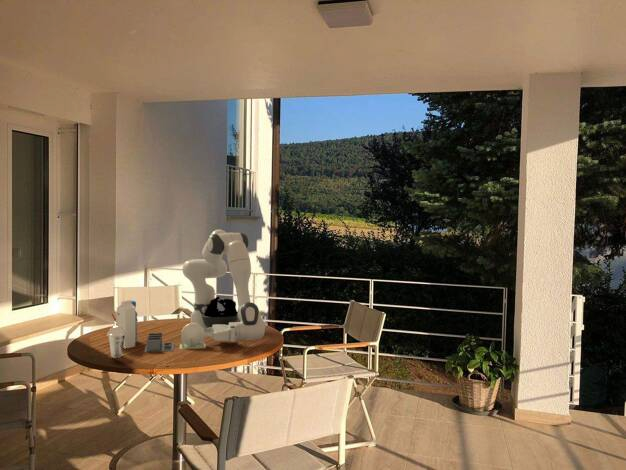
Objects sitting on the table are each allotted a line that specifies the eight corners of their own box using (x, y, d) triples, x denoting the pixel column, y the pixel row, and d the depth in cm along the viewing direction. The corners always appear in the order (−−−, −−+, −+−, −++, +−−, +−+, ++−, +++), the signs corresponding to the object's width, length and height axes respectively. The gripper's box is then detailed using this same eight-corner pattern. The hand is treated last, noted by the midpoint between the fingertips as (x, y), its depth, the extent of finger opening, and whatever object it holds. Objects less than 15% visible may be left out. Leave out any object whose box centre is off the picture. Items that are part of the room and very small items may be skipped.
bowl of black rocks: (235, 337, 276) (236, 301, 275) (197, 336, 276) (198, 300, 276) (241, 329, 296) (242, 296, 295) (206, 328, 296) (206, 295, 296)
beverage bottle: (131, 344, 257) (131, 303, 256) (115, 343, 258) (116, 302, 258) (140, 340, 265) (140, 300, 265) (125, 339, 267) (125, 299, 266)
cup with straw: (129, 354, 238) (129, 310, 237) (122, 359, 229) (123, 313, 228) (110, 353, 237) (110, 309, 237) (103, 359, 228) (103, 313, 228)
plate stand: (179, 346, 254) (179, 336, 253) (205, 345, 256) (205, 335, 256) (179, 351, 245) (179, 340, 245) (205, 350, 248) (206, 339, 247)
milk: (116, 347, 250) (116, 301, 249) (126, 344, 255) (126, 299, 255) (125, 349, 247) (125, 302, 246) (135, 346, 252) (135, 300, 252)
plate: (180, 346, 250) (181, 323, 250) (204, 345, 253) (204, 322, 252) (180, 347, 248) (181, 323, 248) (204, 346, 251) (204, 323, 251)
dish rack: (146, 346, 253) (146, 333, 253) (174, 345, 256) (174, 332, 256) (144, 354, 238) (144, 340, 238) (173, 353, 241) (174, 339, 241)
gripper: (230, 320, 265) (202, 321, 262) (234, 329, 245) (204, 330, 242) (230, 333, 265) (202, 334, 262) (234, 342, 245) (203, 343, 242)
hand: (203, 332), depth 252 cm, fingers open, 8 cm apart
